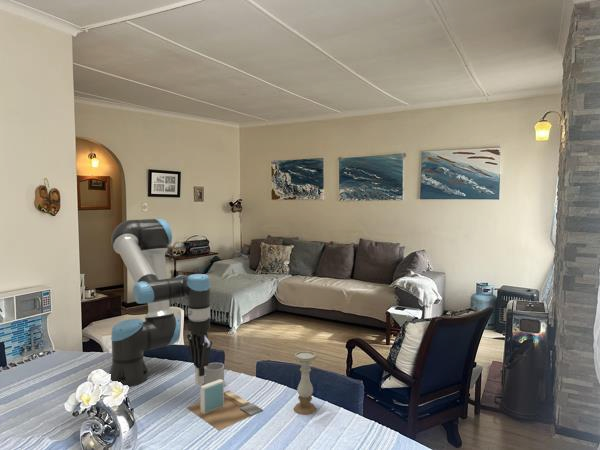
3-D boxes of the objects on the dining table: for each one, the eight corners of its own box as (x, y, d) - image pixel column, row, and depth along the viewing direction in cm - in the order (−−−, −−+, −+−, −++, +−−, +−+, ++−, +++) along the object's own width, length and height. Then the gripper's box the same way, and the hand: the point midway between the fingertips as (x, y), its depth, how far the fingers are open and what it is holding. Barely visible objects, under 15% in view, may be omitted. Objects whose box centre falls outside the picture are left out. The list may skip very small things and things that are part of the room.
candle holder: (320, 408, 149) (321, 351, 148) (313, 420, 141) (313, 361, 140) (297, 404, 152) (297, 348, 151) (288, 416, 144) (288, 357, 143)
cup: (217, 394, 159) (217, 371, 159) (195, 389, 164) (195, 366, 163) (228, 386, 166) (227, 364, 165) (206, 382, 170) (206, 360, 169)
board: (186, 410, 147) (186, 407, 147) (229, 394, 160) (229, 391, 160) (218, 434, 133) (218, 430, 133) (263, 413, 145) (263, 410, 145)
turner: (220, 397, 154) (220, 393, 154) (231, 393, 158) (231, 389, 158) (250, 416, 142) (250, 411, 141) (262, 411, 145) (262, 406, 145)
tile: (200, 411, 144) (200, 386, 144) (220, 403, 150) (220, 379, 149) (204, 414, 143) (203, 388, 142) (224, 406, 148) (224, 381, 148)
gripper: (180, 316, 152) (181, 381, 154) (199, 324, 143) (200, 393, 144) (198, 312, 157) (199, 375, 159) (218, 320, 148) (219, 386, 150)
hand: (199, 383), depth 152 cm, fingers closed
